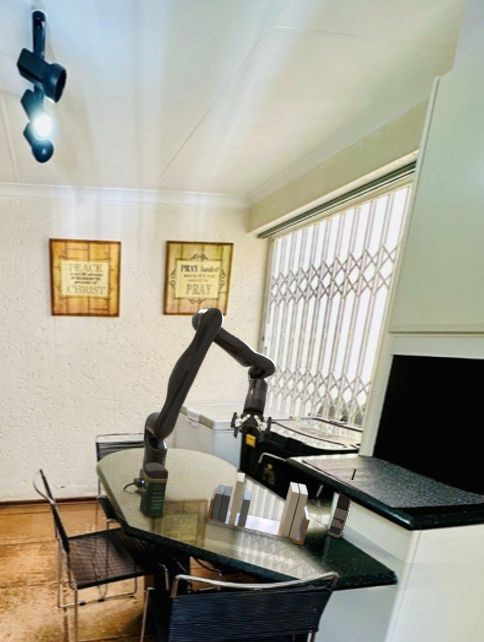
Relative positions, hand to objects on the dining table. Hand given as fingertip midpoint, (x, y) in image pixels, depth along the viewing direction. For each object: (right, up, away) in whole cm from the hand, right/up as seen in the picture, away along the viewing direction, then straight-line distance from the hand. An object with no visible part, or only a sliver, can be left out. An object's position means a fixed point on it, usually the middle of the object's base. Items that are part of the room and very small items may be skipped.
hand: (247, 439), depth 144 cm
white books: (+12, -32, -8) cm, 35 cm away
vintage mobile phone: (+30, -35, -4) cm, 46 cm away
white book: (-6, -29, -2) cm, 30 cm away
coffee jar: (-36, -27, 0) cm, 45 cm away
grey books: (-7, -29, -1) cm, 30 cm away
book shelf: (+1, -32, -4) cm, 32 cm away
